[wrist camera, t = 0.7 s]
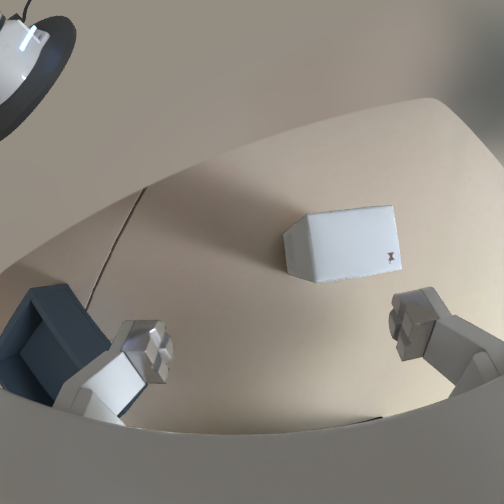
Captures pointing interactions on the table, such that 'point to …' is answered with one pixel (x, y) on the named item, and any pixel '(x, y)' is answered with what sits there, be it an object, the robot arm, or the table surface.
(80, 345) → the bin
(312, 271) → the cosmetic box
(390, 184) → the table surface
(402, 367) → the table surface
